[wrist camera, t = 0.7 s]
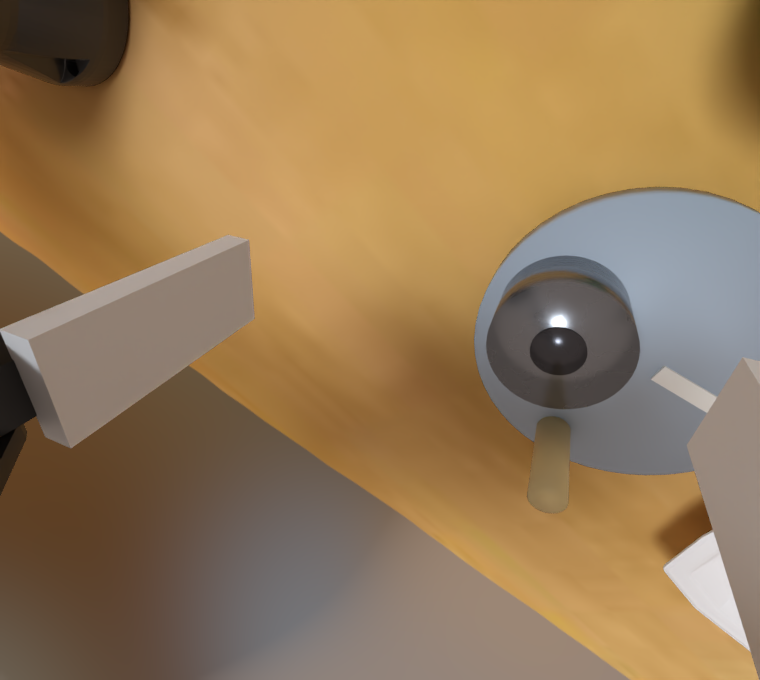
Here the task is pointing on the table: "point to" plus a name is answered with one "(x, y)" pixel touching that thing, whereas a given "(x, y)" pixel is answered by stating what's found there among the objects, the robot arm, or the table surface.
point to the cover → (564, 334)
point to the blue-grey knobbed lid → (642, 329)
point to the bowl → (707, 584)
